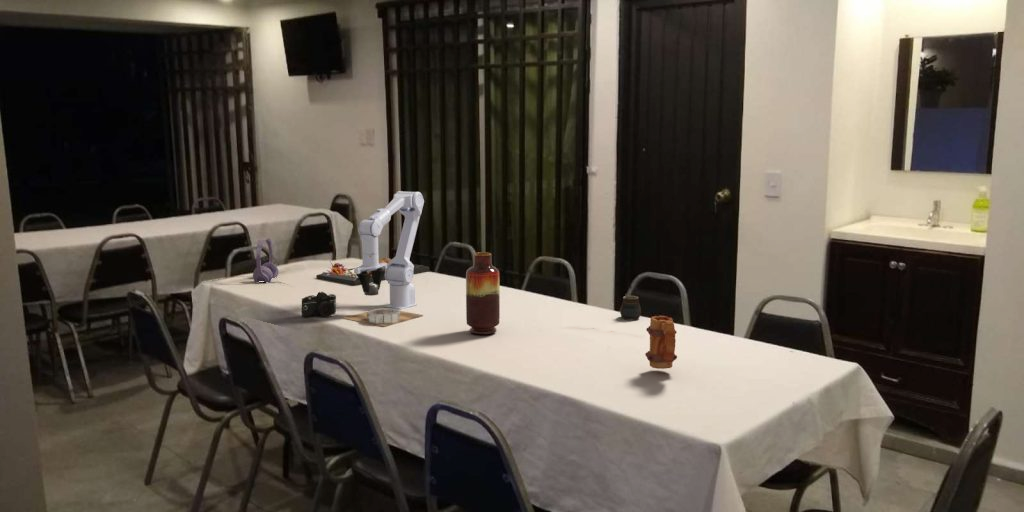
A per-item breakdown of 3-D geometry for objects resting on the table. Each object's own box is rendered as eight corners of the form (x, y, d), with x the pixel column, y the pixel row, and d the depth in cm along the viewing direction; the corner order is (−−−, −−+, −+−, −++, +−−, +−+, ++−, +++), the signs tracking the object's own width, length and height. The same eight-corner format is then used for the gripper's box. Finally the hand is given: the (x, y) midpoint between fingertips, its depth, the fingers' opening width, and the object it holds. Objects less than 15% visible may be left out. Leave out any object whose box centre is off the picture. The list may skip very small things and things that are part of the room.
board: (382, 308, 307) (382, 307, 307) (423, 316, 295) (423, 314, 295) (342, 319, 291) (342, 318, 291) (383, 326, 279) (383, 325, 279)
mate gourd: (643, 318, 292) (644, 290, 291) (637, 322, 285) (637, 294, 284) (623, 316, 295) (624, 288, 294) (617, 320, 288) (617, 292, 287)
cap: (371, 292, 299) (371, 282, 299) (381, 293, 296) (381, 283, 296) (361, 294, 295) (361, 284, 295) (371, 296, 292) (371, 286, 292)
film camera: (303, 322, 287) (312, 297, 285) (295, 312, 293) (303, 287, 291) (337, 325, 296) (346, 300, 294) (329, 315, 302) (337, 291, 299)
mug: (642, 362, 237) (643, 311, 234) (670, 362, 237) (671, 311, 235) (655, 378, 222) (656, 323, 220) (684, 377, 223) (686, 323, 221)
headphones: (269, 287, 349) (266, 240, 346) (249, 287, 349) (247, 240, 346) (281, 279, 367) (279, 234, 364) (263, 279, 367) (261, 234, 364)
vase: (504, 328, 277) (504, 251, 273) (492, 336, 267) (492, 256, 263) (473, 326, 281) (473, 250, 277) (461, 333, 270) (460, 255, 266)
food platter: (355, 291, 342) (354, 267, 340) (316, 285, 356) (315, 261, 355) (429, 276, 377) (429, 253, 376) (391, 270, 392) (390, 249, 390)
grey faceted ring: (383, 315, 295) (382, 306, 295) (405, 319, 289) (405, 310, 288) (360, 320, 286) (360, 312, 286) (383, 325, 280) (383, 316, 280)
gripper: (377, 250, 302) (377, 286, 304) (347, 254, 290) (348, 292, 292) (390, 251, 298) (391, 288, 300) (361, 256, 286) (362, 295, 288)
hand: (371, 290), depth 296 cm, fingers closed on cap, 5 cm apart
